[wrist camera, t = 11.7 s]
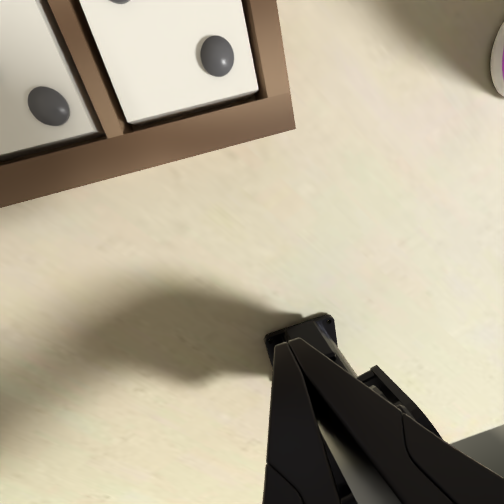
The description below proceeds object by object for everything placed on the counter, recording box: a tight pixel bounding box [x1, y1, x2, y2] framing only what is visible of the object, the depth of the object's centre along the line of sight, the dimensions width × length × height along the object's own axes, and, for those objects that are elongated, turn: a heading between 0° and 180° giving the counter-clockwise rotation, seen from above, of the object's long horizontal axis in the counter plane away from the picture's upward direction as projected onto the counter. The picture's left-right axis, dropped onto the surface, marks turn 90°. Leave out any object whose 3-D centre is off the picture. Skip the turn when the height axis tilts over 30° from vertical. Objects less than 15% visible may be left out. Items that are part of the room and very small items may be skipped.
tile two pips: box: [79, 0, 258, 127], centre depth 11 cm, size 6×6×3 cm
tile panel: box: [0, 0, 296, 208], centre depth 12 cm, size 10×24×4 cm, turn 103°
